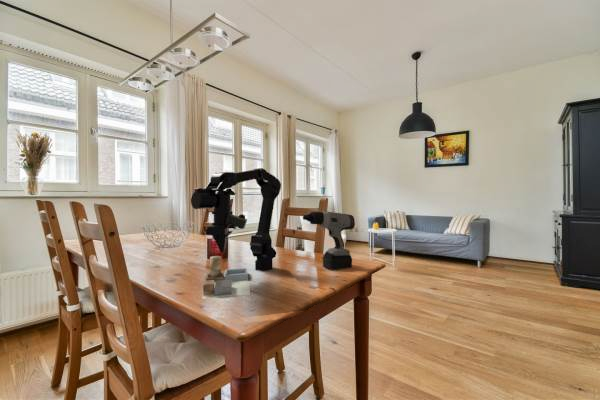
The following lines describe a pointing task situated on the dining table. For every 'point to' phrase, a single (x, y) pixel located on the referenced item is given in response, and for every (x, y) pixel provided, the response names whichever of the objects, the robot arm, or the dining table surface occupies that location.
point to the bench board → (233, 289)
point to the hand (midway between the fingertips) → (222, 252)
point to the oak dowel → (215, 266)
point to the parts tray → (236, 274)
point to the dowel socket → (215, 277)
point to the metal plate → (223, 287)
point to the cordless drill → (334, 237)
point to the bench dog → (208, 287)
